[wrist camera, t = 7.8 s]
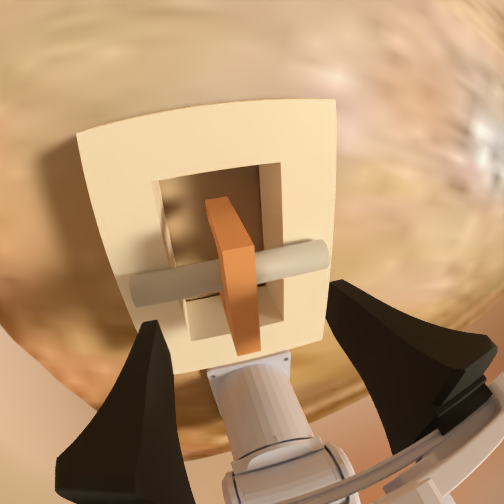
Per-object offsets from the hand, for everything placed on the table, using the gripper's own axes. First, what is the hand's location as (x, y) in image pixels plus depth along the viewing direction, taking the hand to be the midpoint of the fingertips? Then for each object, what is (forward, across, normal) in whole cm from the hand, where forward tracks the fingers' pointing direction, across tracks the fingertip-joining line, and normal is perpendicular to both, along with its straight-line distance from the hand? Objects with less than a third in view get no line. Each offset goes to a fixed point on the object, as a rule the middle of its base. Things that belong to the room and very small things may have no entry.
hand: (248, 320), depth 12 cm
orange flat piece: (+6, 0, 0) cm, 6 cm away
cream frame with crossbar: (+8, 0, 0) cm, 8 cm away
